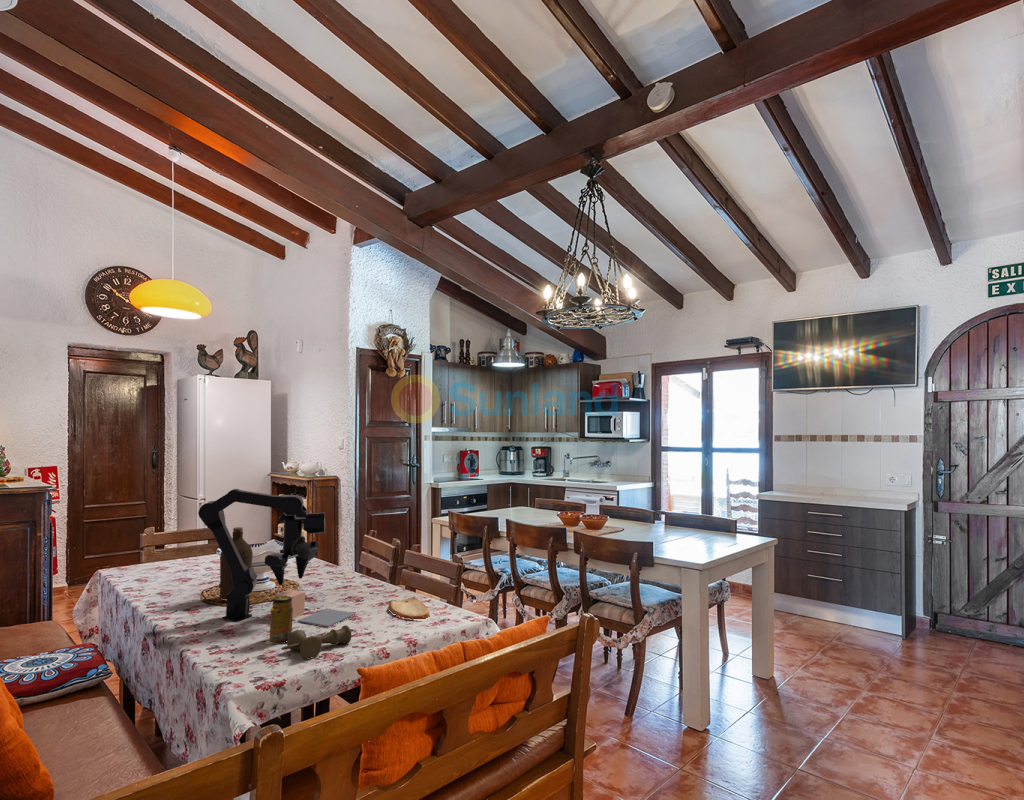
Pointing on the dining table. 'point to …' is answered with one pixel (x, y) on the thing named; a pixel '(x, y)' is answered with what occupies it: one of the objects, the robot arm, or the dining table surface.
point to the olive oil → (225, 571)
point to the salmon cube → (295, 601)
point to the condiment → (280, 620)
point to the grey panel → (326, 617)
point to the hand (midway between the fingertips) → (290, 581)
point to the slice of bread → (409, 608)
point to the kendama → (316, 641)
